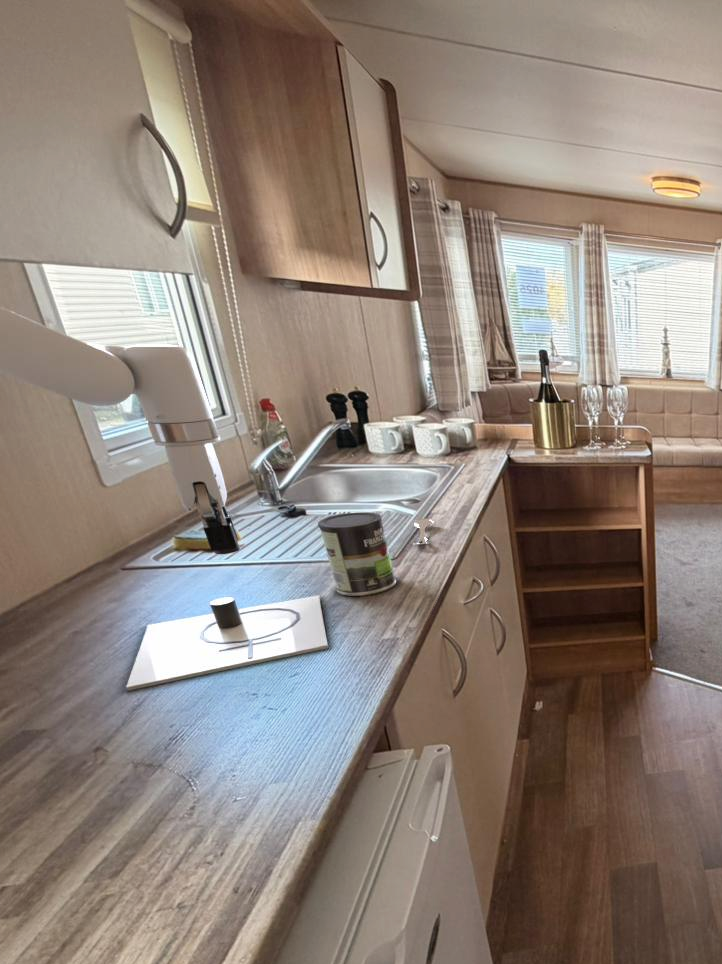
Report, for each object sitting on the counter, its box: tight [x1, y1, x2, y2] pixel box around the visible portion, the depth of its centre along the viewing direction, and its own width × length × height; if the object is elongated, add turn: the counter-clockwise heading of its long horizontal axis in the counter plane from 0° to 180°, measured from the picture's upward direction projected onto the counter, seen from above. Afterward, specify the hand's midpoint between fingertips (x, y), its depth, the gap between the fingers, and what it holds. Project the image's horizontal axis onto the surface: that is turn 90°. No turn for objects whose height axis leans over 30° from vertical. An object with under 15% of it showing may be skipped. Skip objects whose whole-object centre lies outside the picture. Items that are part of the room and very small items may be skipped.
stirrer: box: [411, 518, 434, 546], centre depth 155 cm, size 20×4×5 cm
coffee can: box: [317, 511, 397, 597], centre depth 126 cm, size 10×10×14 cm
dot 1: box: [213, 522, 241, 555], centre depth 104 cm, size 3×3×4 cm
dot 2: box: [209, 597, 242, 629], centre depth 109 cm, size 3×3×4 cm
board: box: [125, 594, 329, 692], centre depth 107 cm, size 24×24×1 cm
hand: (225, 544), depth 104 cm, fingers closed on dot 1, 3 cm apart
